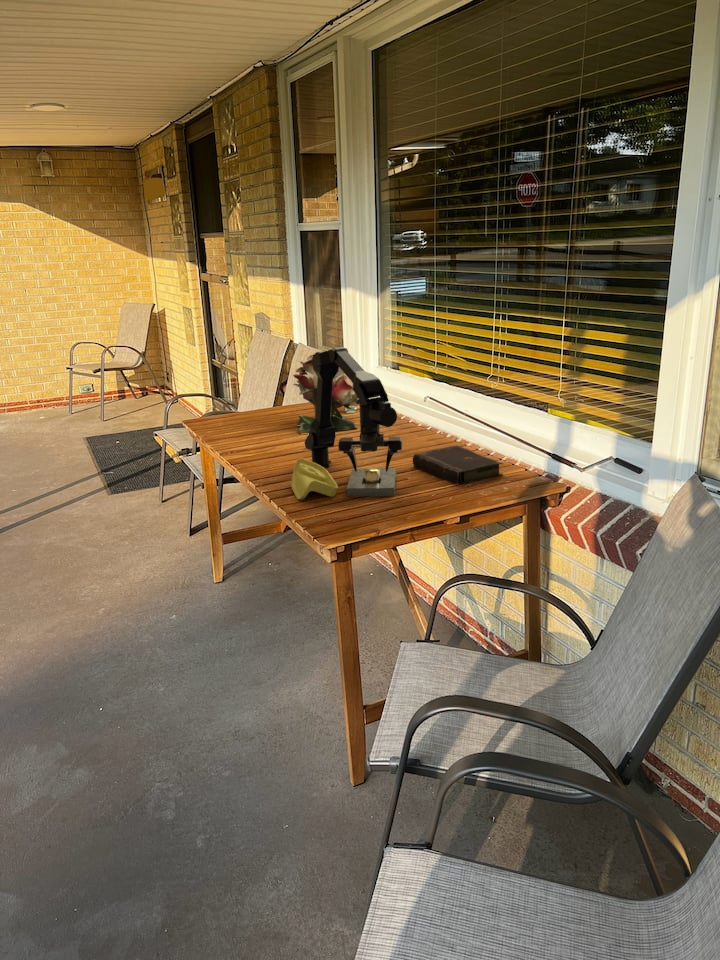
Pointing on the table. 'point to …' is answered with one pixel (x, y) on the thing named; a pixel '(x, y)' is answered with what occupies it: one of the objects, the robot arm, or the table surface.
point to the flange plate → (381, 489)
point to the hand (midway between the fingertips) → (371, 471)
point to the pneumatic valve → (350, 409)
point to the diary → (457, 465)
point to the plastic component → (311, 479)
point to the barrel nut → (371, 476)
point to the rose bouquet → (340, 397)
